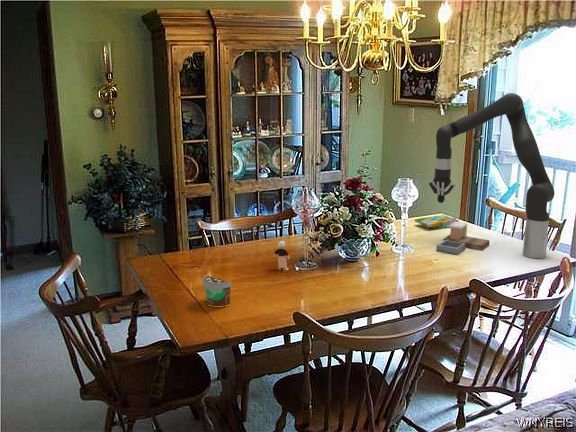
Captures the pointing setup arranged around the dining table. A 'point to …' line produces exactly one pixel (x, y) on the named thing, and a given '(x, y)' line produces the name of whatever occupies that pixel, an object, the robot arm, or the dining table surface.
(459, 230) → the block
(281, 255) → the grandmother figurine
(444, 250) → the tray
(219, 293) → the food container
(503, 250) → the dining table surface
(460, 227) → the light grey blocky form
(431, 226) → the puzzle game
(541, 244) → the robot arm
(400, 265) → the dining table surface
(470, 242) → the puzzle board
